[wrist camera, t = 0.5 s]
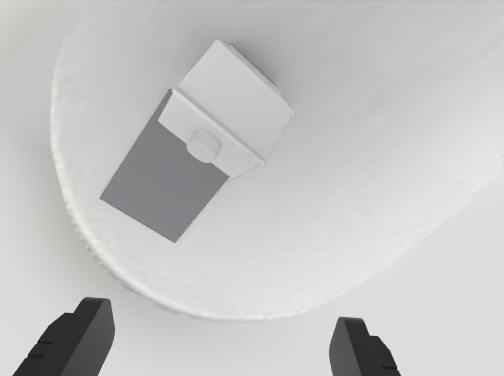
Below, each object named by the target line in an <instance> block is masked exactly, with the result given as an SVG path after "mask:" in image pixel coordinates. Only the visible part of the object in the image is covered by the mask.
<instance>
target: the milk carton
mask: <svg viewBox="0 0 504 376" xmlns="http://www.w3.org/2000/svg"><path fill="white" fill-rule="evenodd" d="M172 92H173V94H172V95H171V97H170V99H169V101H168V103H167V104H166V106H165V108H164V110H163V112H162V113H161V115H160V117H159V119H158V121H159V123H161V124H162V125H163V126H164V127H166V128H167V129H168V130H169V131H171V132H172V133H173V134H174V135H176V136H177V137H178V138H180V139H181V140H182V141H184V142H185V143H186V144H187V145H186V146H187V150H188V151H189V152H190V154H191V155H192V156H194V157H195V158H196V159H198V160H200V161H202V162H205V163H210V162H211V163H212V164H214V165H215V166H216V167H217V168H219V169H220V170H221V171H223V172H224V173H225V174H227V175H228V176H230V177H231V178H233V179H235V178H237V177H238V176H240V175H242V174H243V173H245V172H247V171H248V170H250V169H252V168H253V167H255V166H257V165H258V164H261V165H262V166H266V160H265V159H266V158H267V156H268V154H269V153H270V151H271V150H272V148H273V146H274V145H275V143H276V141H277V140H278V138H279V137H280V135H281V133H282V132H283V130H284V128H285V127H286V125H287V124H288V122H289V120H290V119H291V117H292V115H293V114H294V112H295V111H294V110H293V108H292V107H291V106H290V105H289V103H288V102H287V101H286V99H285V98H284V97H283V95H282V94H281V93H280V92H279V90H278V89H277V88H276V87H275V85H274V84H273V83H271V82H270V81H269V80H268V79H267V78H266V77H265V76H264V75H263V74H262V73H261V72H260V71H259V70H258V69H256V68H255V67H254V66H253V65H252V64H251V63H250V62H249V61H248V60H247V59H246V58H245V57H244V56H242V55H241V54H240V53H239V52H238V51H237V50H236V49H235V48H234V47H233V46H232V45H230V44H228V43H225V42H222V41H219V40H216V41H215V42H214V43H213V44H212V46H211V47H210V48H209V49H208V50H207V51H206V53H205V54H204V55H203V56H202V57H201V59H200V60H199V61H198V62H197V63H196V64H195V66H194V67H193V68H192V69H191V70H190V71H189V73H188V74H187V75H186V76H185V77H184V79H183V80H182V81H181V82H180V83H179V84H178V86H177V87H175V88H173V89H172Z"/></svg>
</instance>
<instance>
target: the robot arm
mask: <svg viewBox="0 0 504 376" xmlns="http://www.w3.org/2000/svg"><path fill="white" fill-rule="evenodd" d="M114 334H115V326H114V320H113V314H112V308H111V302H110V300H109V299H106V298H105V299H104V298H91V297H86V298H84V299H83V300H82V301H81V302H80V304H79V305H78V307H77V308H76V310H75V311H74V313H64V314H63V315H61V316H60V317H59V318H58V319H57V320H55V321H54V322H53V323H52V324H50V325H49V326H48V328H47V329H46V330H45V332H44V333H43V335H42V336H41V337H40V339H39V340H38V342H37V344H36V345H34V347H33V348H32V350H31V351H30V352H29V354H28V357H27V358H25V359H24V361H23V362H22V363H21V365H20V366H19V368H18V369H17V370H16V372H15V373H14V375H13V376H98V374H99V372H100V370H101V367H102V365H103V363H104V361H105V359H106V357H107V354H108V353H109V350H110V348H111V346H112V343H113V339H114ZM329 357H330V364H331V369H332V373H333V376H401V375H400V373H399V371H398V370H397V366H396V363H395V361H394V359H393V357H392V354H391V352H390V350H389V349H388V348H387V347H386V345H385V344H384V343H383V342H382V341H381V339H380V338H379V337H378V336H370V335H369V333H368V330H367V328H366V325H365V323H364V321H363V320H362V319H361V318H350V317H339V318H338V321H337V324H336V327H335V330H334V333H333V336H332V340H331V343H330V349H329Z"/></svg>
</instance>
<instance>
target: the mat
mask: <svg viewBox="0 0 504 376" xmlns="http://www.w3.org/2000/svg"><path fill="white" fill-rule="evenodd" d="M172 94H173V92H172V90H171V89H170V90H169V91H168V93H167V94H166V96H165V97H164V99H163V100H162V102H161V104H160V105H159V107H158V108H157V110H156V111H155V113H154V114H153V116H152V117H151V119H150V121H149V122H148V124H147V125H146V127H145V128H144V130H143V131H142V133H141V135H140V136H139V138H138V139H137V141H136V142H135V144H134V145H133V147H132V149H131V150H130V152H129V153H128V155H127V156H126V158H125V159H124V161H123V162H122V164H121V166H120V167H119V169H118V170H117V172H116V173H115V175H114V176H113V178H112V180H111V181H110V183H109V184H108V186H107V187H106V189H105V190H104V192H103V194H102V195H101V197H100V199H101V200H103V201H105V202H106V203H108V204H110V205H111V206H113V207H115V208H116V209H118V210H120V211H121V212H123V213H125V214H127V215H128V216H130V217H132V218H133V219H135V220H137V221H138V222H140V223H142V224H143V225H145V226H147V227H148V228H150V229H152V230H154V231H155V232H157V233H159V234H160V235H162V236H164V237H165V238H167V239H169V240H170V241H172V242H174V243H175V242H176V241H177V240H178V239H179V237H180V236H181V235H182V234H183V233H184V231H185V230H186V229H187V228H188V226H189V225H190V224H191V223H192V222H193V220H194V219H195V218H196V217H197V215H198V214H199V213H200V212H201V211H202V209H203V208H204V207H205V206H206V204H207V203H208V202H209V201H210V200H211V198H212V197H213V196H214V195H215V193H216V192H217V191H218V190H219V189H220V187H221V186H222V185H223V184H224V182H225V181H226V180H227V179H228V178H229V176H228V175H227V174H225V173H224V172H223V171H221V170H220V169H219V168H217V167H216V166H215V165H214V164H212V163H211V162H210V163H205V162H202V161H200V160H198V159H196V158H195V157H194V156H192V155H191V154H190V152H189V151H188V150H187V146H186V145H187V144H186V143H185V142H184V141H182V140H181V139H180V138H178V137H177V136H176V135H174V134H173V133H172V132H171V131H169V130H168V129H167V128H166V127H164V126H163V125H162V124H161V123H159V121H158V119H159V117H160V115H161V113H162V112H163V110H164V108H165V106H166V104H167V103H168V101H169V99H170V97H171V95H172Z"/></svg>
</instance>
